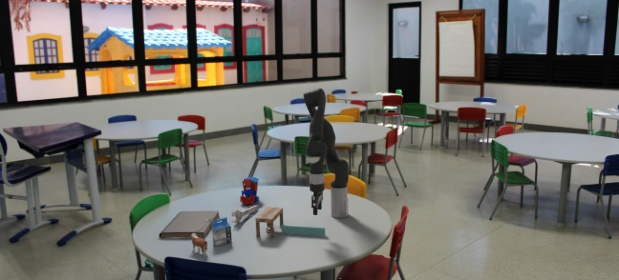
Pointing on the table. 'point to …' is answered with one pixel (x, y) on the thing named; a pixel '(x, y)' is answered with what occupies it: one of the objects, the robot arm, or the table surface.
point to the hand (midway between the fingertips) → (317, 212)
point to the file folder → (190, 224)
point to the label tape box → (221, 232)
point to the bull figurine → (199, 243)
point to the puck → (268, 230)
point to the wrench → (243, 213)
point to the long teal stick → (303, 230)
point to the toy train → (249, 190)
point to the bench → (269, 219)
